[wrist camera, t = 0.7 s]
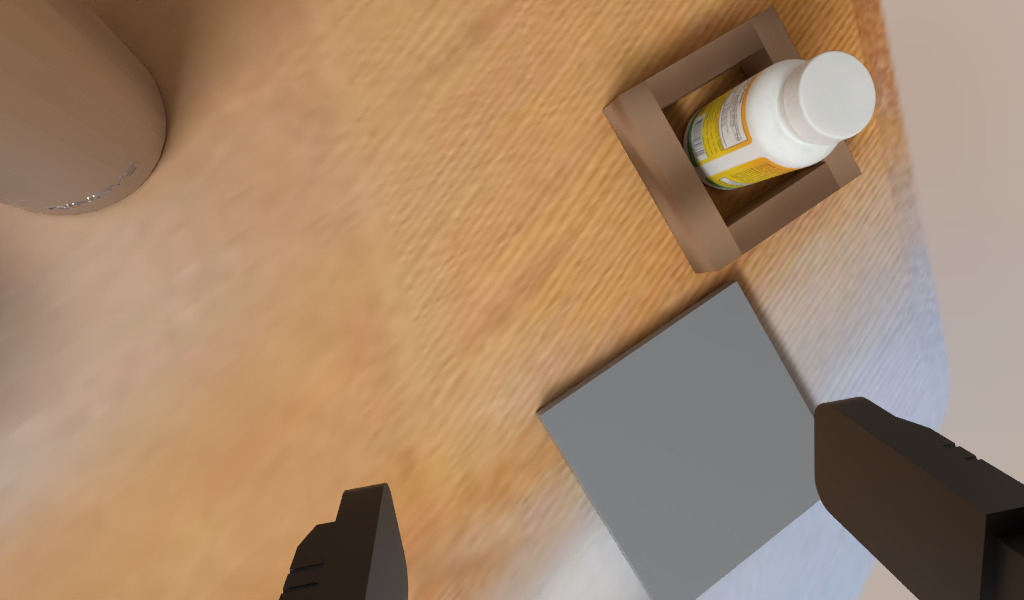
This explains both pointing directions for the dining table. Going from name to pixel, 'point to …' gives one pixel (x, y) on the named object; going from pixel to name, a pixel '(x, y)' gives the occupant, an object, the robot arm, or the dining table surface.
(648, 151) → the walnut holder
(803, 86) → the supplement bottle
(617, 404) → the slate board
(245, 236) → the dining table surface
